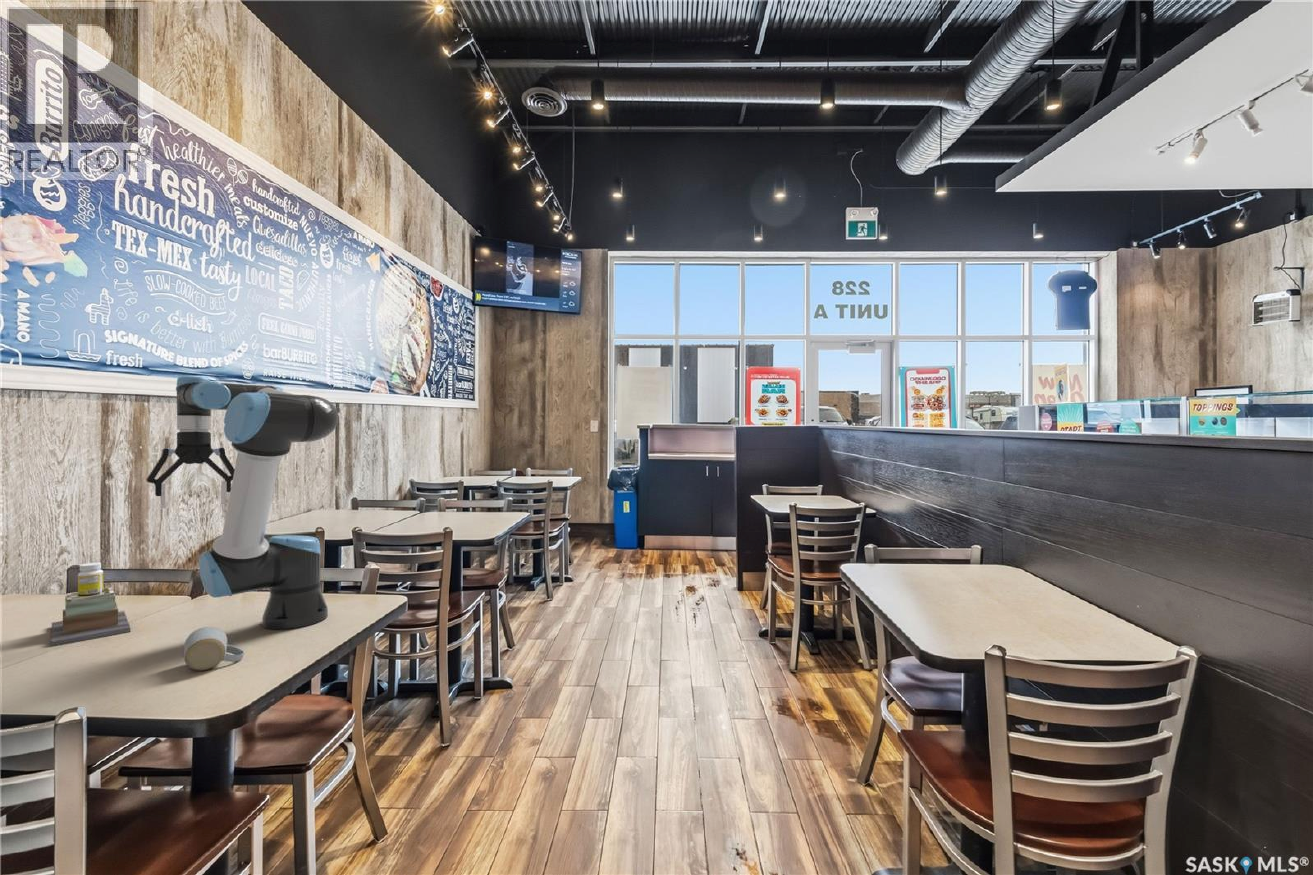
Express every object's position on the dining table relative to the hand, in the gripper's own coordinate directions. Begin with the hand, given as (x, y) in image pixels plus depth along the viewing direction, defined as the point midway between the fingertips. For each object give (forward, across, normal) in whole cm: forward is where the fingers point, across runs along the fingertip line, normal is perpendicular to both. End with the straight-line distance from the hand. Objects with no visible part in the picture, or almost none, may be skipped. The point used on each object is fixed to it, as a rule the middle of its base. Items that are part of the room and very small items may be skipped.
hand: (194, 505), depth 162 cm
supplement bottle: (+22, +21, -3) cm, 31 cm away
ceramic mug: (+31, +3, +48) cm, 58 cm away
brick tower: (+31, +21, -3) cm, 37 cm away
